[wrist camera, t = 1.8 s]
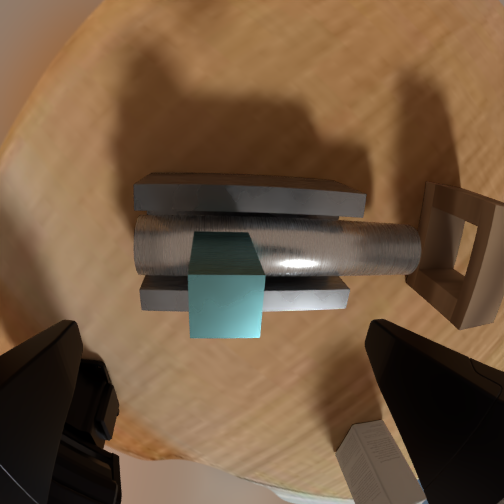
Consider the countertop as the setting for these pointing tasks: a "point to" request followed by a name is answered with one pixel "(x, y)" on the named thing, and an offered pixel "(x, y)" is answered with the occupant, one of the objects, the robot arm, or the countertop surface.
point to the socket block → (445, 252)
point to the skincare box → (377, 467)
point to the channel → (256, 205)
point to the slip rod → (262, 259)
